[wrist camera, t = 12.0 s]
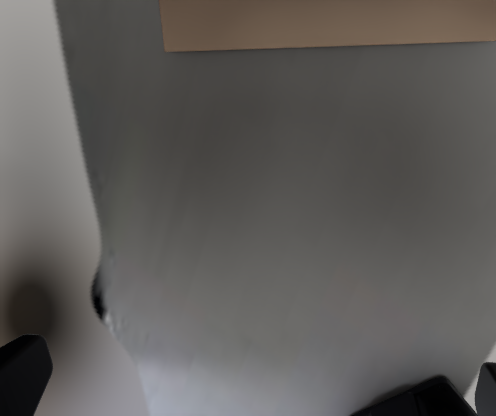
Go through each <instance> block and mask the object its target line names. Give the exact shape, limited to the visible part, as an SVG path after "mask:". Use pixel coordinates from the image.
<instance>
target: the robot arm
mask: <svg viewBox="0 0 496 416" xmlns="http://www.w3.org/2000/svg"><path fill="white" fill-rule="evenodd" d="M52 370H53V363H52V359H51V356H50V352H49V349H48V346H47V342H46V339H45V338H44V337H43V336H41V335H32V334H25V335H22V336H20V337H18V338H16V339H14V340H13V341H11V342H9V343H7V344H6V345H4V346H2V347H0V416H34V413H35V411H36V409H37V407H38V404H39V402H40V400H41V398H42V395H43V393H44V391H45V388H46V386H47V384H48V381H49V379H50V377H51V374H52ZM439 386H443V387H439ZM475 406H476V410H477V414H478V415H477V414H476V413H475V411H474V410H473V409H472V408H471V406H470V405H469V404H468V403H467V402H466V400H465V399H464V398H463V397H462V396H461V394H460V393H459V392H458V391H457V390H456V389H455V387H454V386H453V385H452V384H451V383H450V381H449V380H448V379H446V378H443V377H438V378H434V379H432V380H430V381H428V382H426V383H423V384H421V385H419V386H417V387H415V388H412V389H410V390H408V391H406V392H404V393H401V394H399V395H397V396H395V397H392V398H390V399H388V400H386V401H384V402H381V403H379V404H377V405H375V406H373V407H370V408H368V409H366V410H364V411H361V412H359V413H357V414H355V415H353V416H496V363H493V362H486V363H483V365H482V366H481V369H480V373H479V378H478V382H477V387H476V391H475Z"/></svg>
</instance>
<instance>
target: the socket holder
mask: <svg viewBox="0 0 496 416" xmlns="http://www.w3.org/2000/svg"><path fill="white" fill-rule="evenodd" d="M159 6H160V15H161V24H162V33H163V41H164V50H165V52H179V51H208V50H238V49H268V48H297V47H327V46H357V45H386V44H416V43H446V42H475V41H496V0H159Z"/></svg>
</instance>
